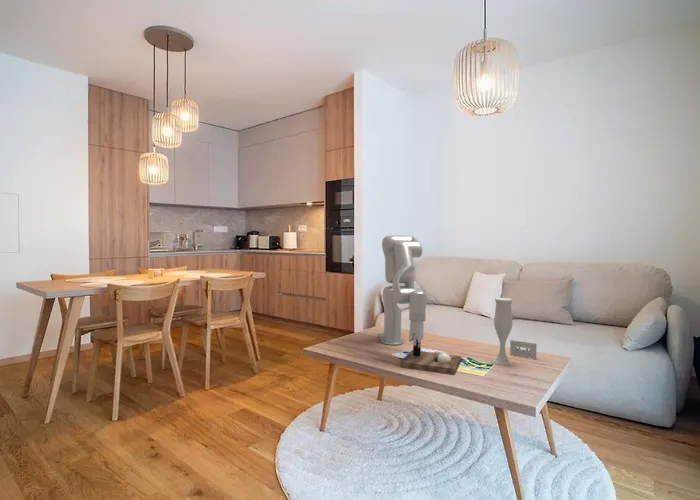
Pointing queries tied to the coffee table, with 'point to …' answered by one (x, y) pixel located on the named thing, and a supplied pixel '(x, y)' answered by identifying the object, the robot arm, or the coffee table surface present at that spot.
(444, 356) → the ball
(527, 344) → the cassette
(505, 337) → the vase
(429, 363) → the board
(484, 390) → the coffee table surface
